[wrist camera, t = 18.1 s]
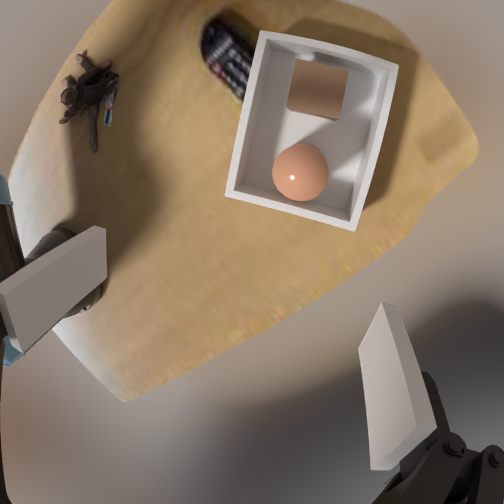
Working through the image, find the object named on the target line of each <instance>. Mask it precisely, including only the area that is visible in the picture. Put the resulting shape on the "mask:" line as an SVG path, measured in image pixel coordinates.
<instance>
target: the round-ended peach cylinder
mask: <svg viewBox="0 0 504 504" xmlns="http://www.w3.org/2000/svg"><path fill="white" fill-rule="evenodd" d="M272 177H273V181H274V184H275V186H276V187H277V189H278V190H279V191H280V192H281V193H282V194H283V195H284V196H286V197H287V198H289V199H292V200H296V201H307V200H311V199H313V198H315V197H317V196H318V195H319V194H321V193H322V191H323V190H324V189H325V187H326V185H327V183H328V179H329V169H328V165H327V163H326V160H325V157H324V155H323V153H322V152H321V151H320V150H319V149H318V148H317V147H315V146H314V145H312V144H308V143H297V144H294V145H292V146H290V147H289V148H287V149H285V150H284V151H282V152H281V153H280V154H279V155H278V156H277V158H276V159H275V162H274V164H273V168H272Z"/></svg>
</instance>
